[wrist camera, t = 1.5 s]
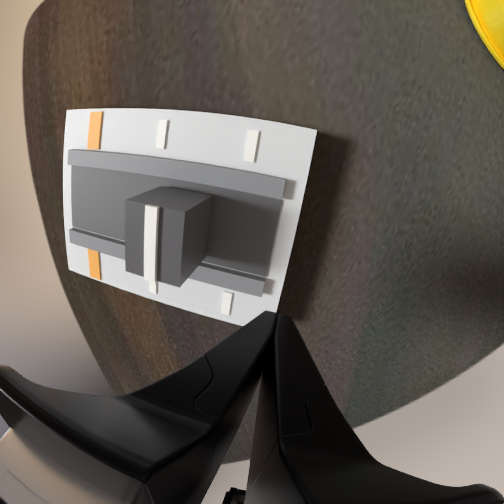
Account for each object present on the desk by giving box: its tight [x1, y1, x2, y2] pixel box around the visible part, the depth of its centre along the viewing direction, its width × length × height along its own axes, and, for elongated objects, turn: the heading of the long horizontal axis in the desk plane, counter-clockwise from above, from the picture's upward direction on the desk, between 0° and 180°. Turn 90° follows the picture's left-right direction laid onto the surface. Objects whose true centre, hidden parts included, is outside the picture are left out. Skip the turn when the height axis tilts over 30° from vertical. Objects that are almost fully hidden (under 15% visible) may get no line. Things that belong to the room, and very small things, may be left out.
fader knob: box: [125, 186, 213, 288], centre depth 14 cm, size 4×3×4 cm
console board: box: [63, 108, 317, 326], centre depth 17 cm, size 12×16×2 cm
